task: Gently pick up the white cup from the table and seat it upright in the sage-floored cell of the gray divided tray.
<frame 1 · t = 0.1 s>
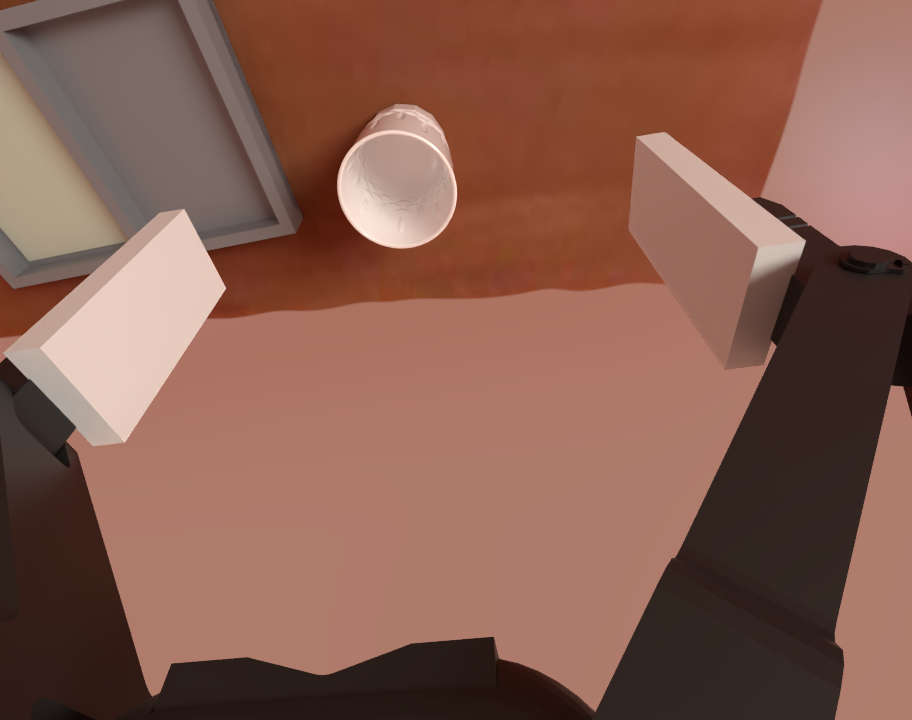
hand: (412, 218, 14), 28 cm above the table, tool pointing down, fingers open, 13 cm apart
gray divided tray: (101, 145, 39), on the table
white cup: (406, 147, 40), on the table
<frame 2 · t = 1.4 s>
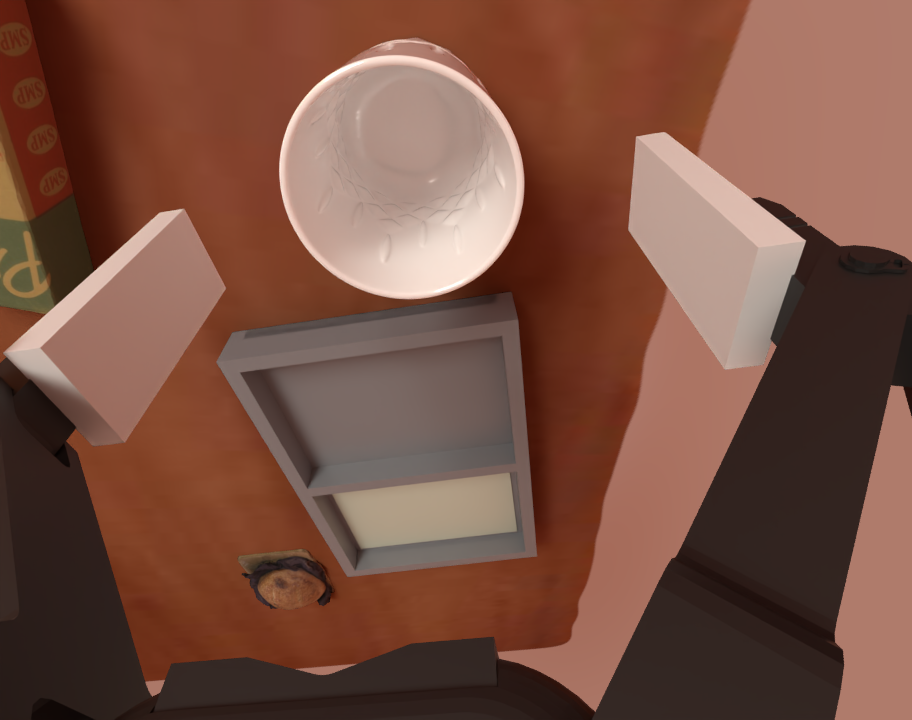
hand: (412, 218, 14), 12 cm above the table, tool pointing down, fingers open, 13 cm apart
gray divided tray: (412, 449, 39), on the table
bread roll: (291, 570, 52), on the table
white cup: (413, 118, 24), on the table
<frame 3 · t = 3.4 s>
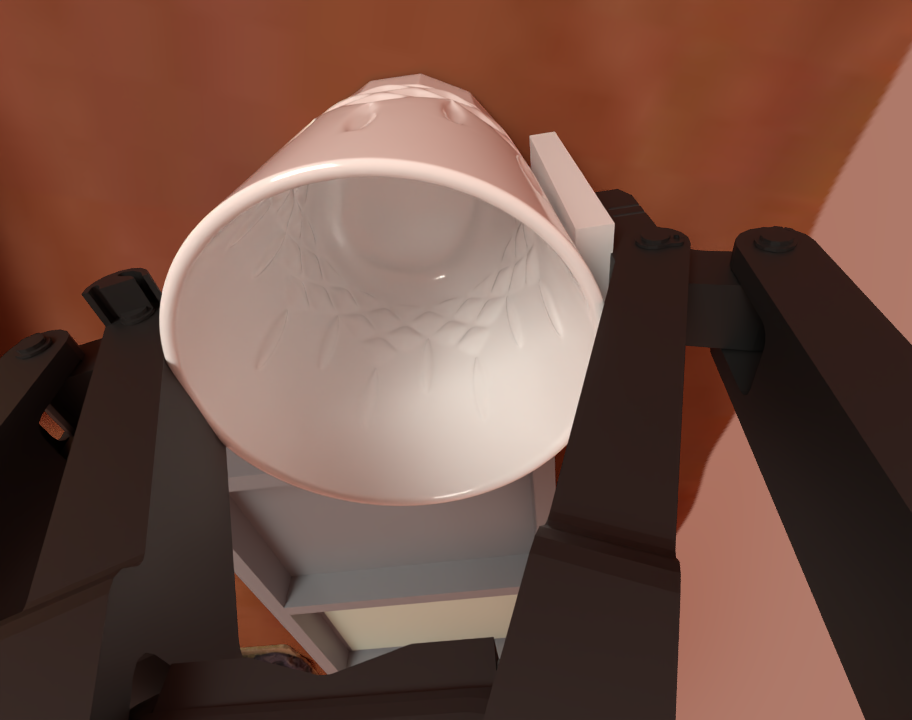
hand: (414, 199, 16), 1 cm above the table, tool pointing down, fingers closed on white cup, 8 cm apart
gray divided tray: (413, 554, 32), on the table
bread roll: (272, 659, 45), on the table
white cup: (416, 183, 17), on the table, touching gripper
when the fingers open (3 cm above the table, at t = 11.0 s): white cup stays where it is, resting on gray divided tray.
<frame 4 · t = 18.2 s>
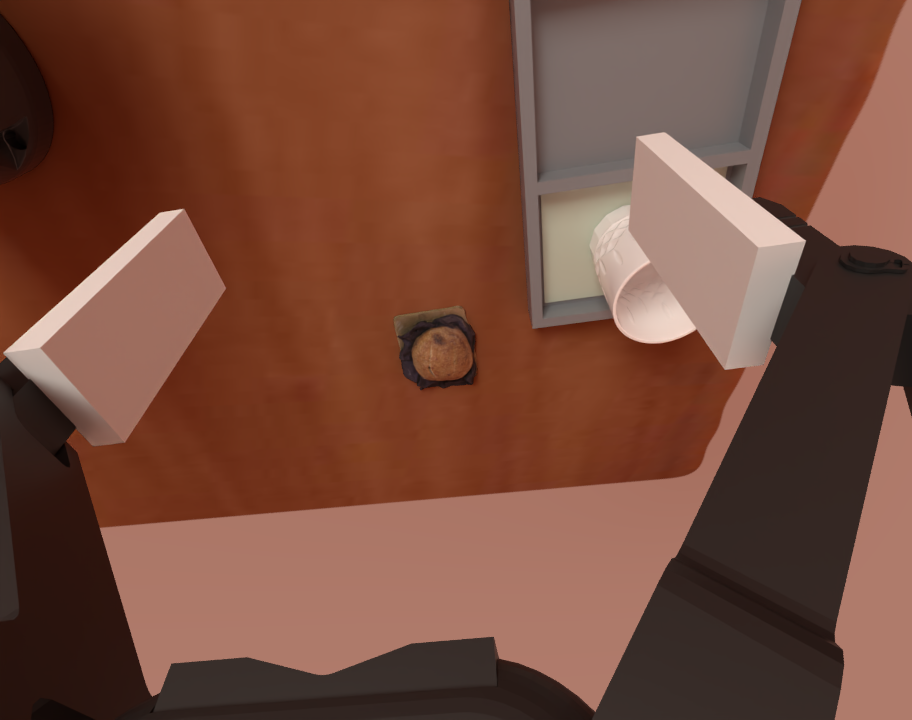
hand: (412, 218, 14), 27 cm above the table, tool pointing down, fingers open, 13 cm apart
gray divided tray: (630, 160, 39), on the table
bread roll: (438, 346, 52), on the table
white cup: (626, 238, 43), point 1 cm above the table, touching gray divided tray
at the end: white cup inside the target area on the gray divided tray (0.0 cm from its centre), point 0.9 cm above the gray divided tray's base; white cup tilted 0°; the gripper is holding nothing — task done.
